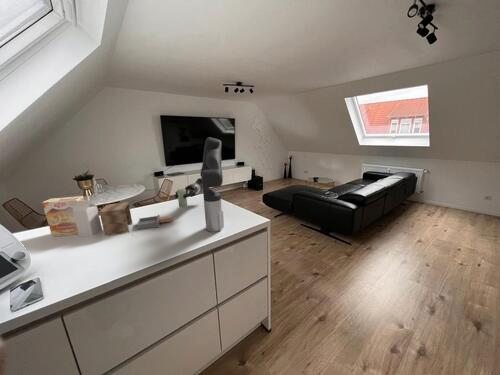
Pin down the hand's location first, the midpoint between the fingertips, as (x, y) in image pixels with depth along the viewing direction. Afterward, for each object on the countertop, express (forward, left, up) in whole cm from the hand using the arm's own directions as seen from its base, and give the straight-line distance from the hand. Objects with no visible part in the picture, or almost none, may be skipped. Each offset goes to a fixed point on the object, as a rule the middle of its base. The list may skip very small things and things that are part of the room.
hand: (179, 196), depth 119 cm
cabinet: (+29, +17, -15) cm, 37 cm away
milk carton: (+40, +24, -15) cm, 50 cm away
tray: (+13, +7, -15) cm, 21 cm away
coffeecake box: (+53, +24, -16) cm, 60 cm away
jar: (0, -3, -7) cm, 7 cm away
